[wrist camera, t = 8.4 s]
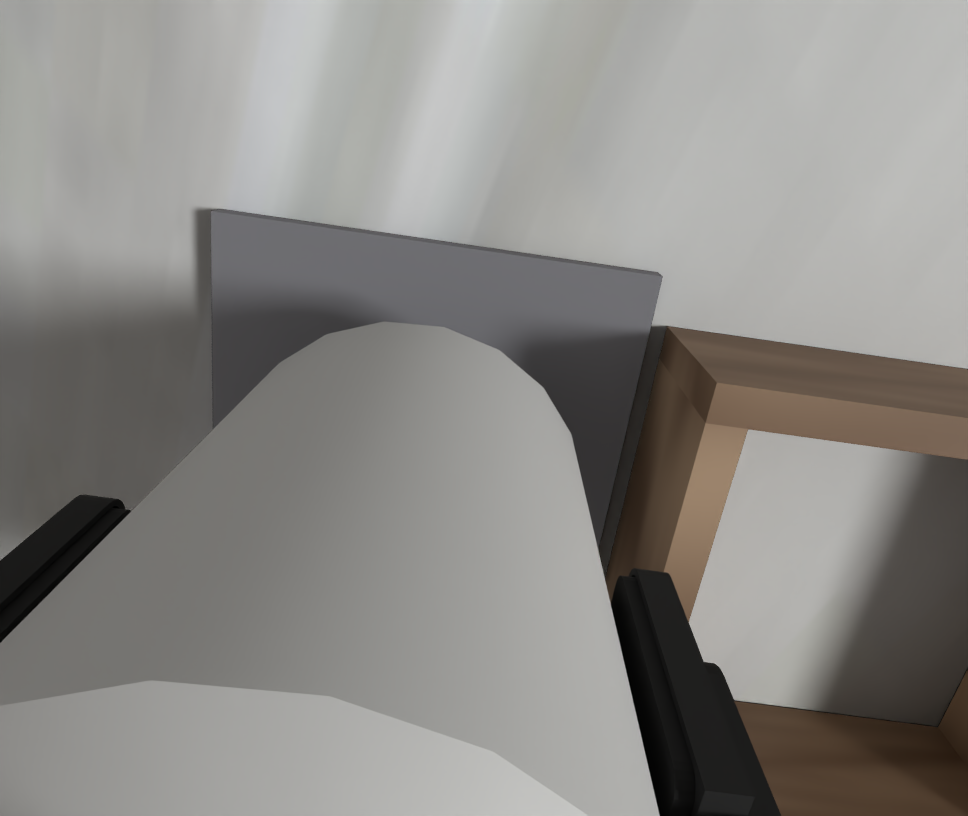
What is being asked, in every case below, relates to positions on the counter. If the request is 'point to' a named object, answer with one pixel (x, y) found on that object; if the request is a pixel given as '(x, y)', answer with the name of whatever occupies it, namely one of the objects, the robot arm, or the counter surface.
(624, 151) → the counter surface
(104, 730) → the can
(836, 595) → the counter surface
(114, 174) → the counter surface
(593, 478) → the rubber mat
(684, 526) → the walnut box
